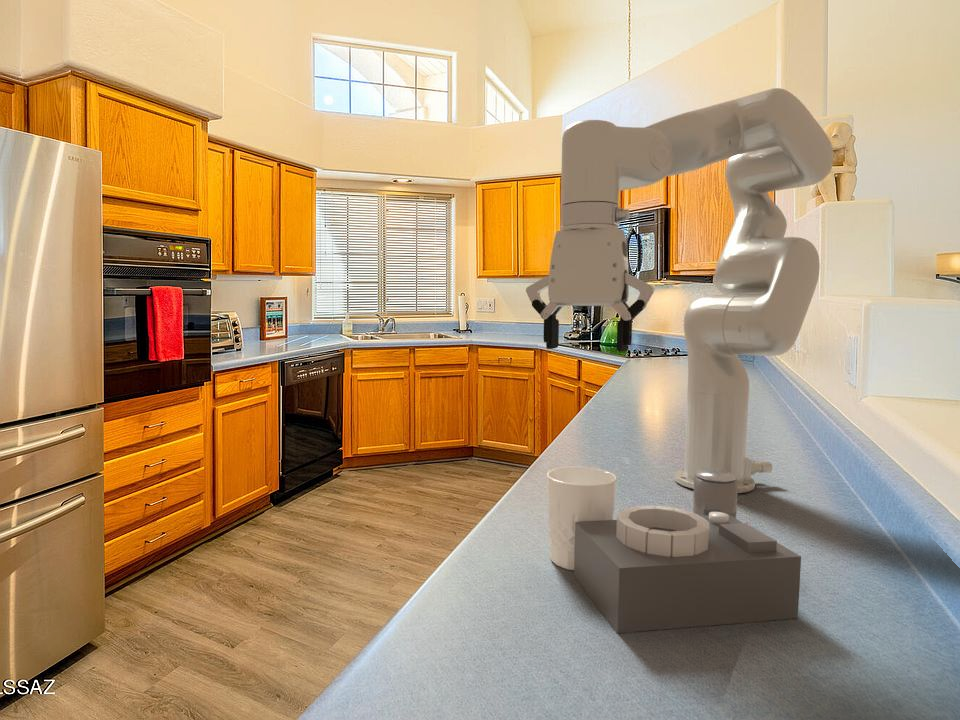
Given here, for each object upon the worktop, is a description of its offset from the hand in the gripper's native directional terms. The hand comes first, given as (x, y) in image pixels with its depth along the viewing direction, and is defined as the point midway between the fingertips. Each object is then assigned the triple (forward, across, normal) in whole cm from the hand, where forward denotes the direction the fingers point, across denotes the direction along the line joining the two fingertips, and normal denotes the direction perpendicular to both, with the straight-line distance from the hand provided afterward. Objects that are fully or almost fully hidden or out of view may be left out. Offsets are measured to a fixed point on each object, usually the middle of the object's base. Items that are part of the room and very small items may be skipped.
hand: (586, 349), depth 82 cm
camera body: (+24, -15, +17) cm, 33 cm away
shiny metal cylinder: (+24, -17, +1) cm, 29 cm away
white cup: (+24, -4, +13) cm, 27 cm away
